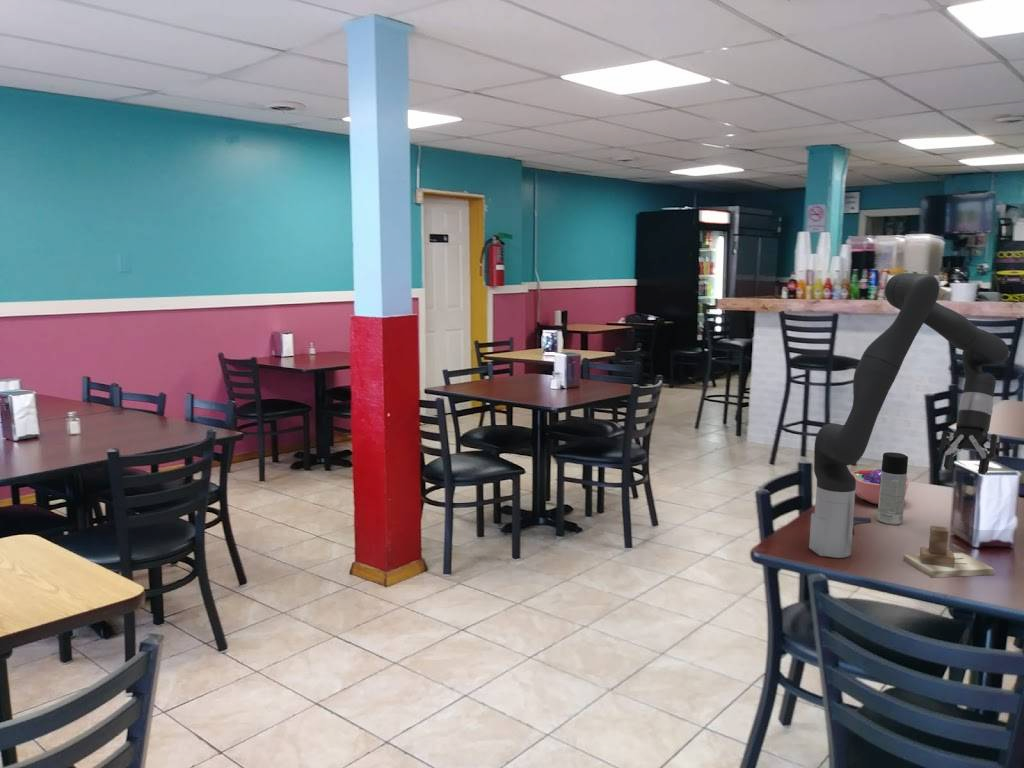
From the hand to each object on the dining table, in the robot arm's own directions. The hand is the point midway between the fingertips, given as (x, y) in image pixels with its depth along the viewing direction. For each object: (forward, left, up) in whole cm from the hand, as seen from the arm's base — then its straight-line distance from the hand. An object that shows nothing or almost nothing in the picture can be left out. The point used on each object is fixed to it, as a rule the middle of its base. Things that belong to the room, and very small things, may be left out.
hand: (964, 472), depth 203 cm
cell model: (+3, +41, -21) cm, 46 cm away
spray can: (-5, +22, -21) cm, 31 cm away
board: (-12, -13, -20) cm, 27 cm away
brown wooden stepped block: (-15, -13, -19) cm, 27 cm away
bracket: (-20, +19, -21) cm, 35 cm away
